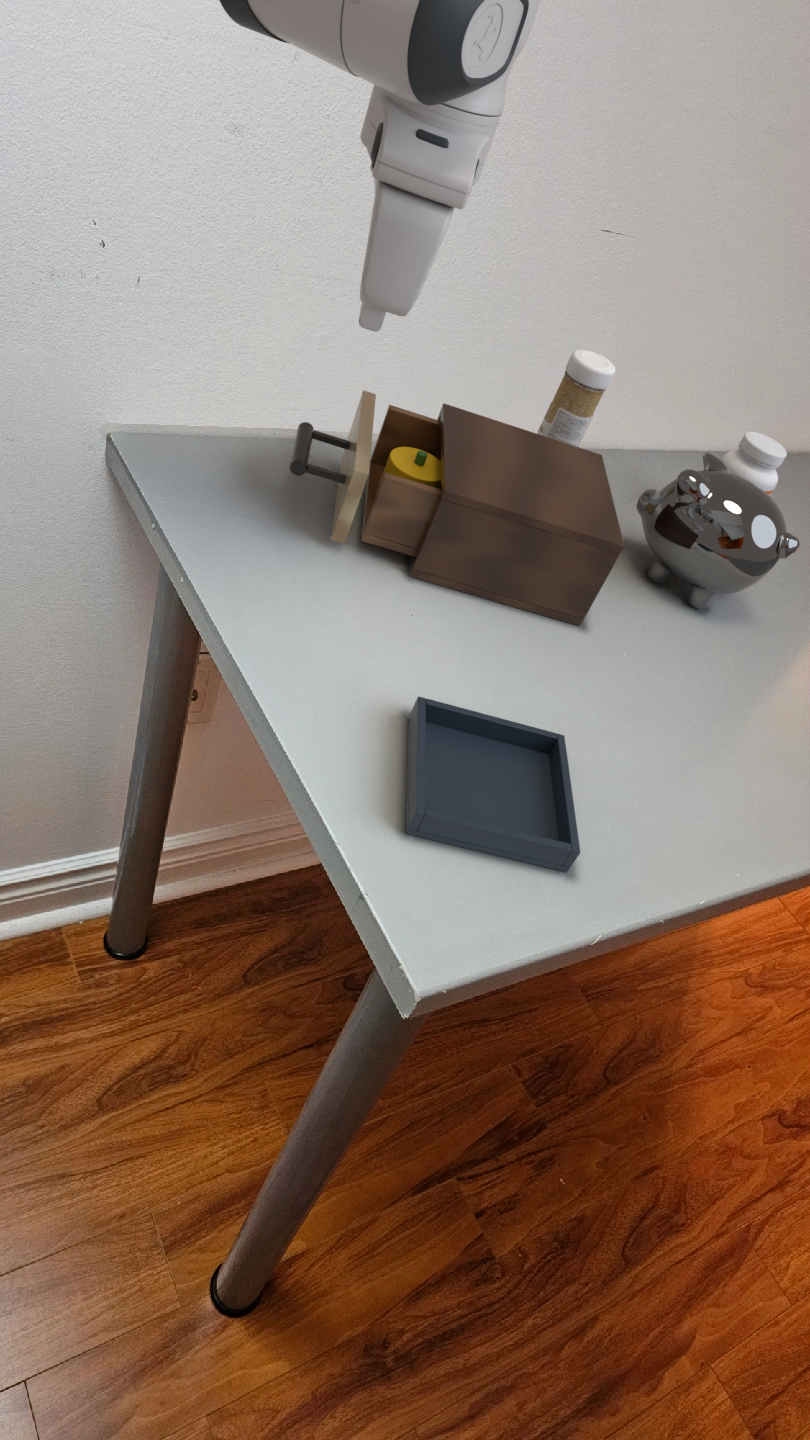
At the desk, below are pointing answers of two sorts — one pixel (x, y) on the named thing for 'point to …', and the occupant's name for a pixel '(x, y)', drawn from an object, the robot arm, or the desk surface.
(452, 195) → the robot arm
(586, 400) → the sprinkles bottle
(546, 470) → the cabinet
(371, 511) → the drawer
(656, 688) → the desk surface
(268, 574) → the desk surface
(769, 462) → the pill bottle
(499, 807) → the tray
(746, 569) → the piggy bank
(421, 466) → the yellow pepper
